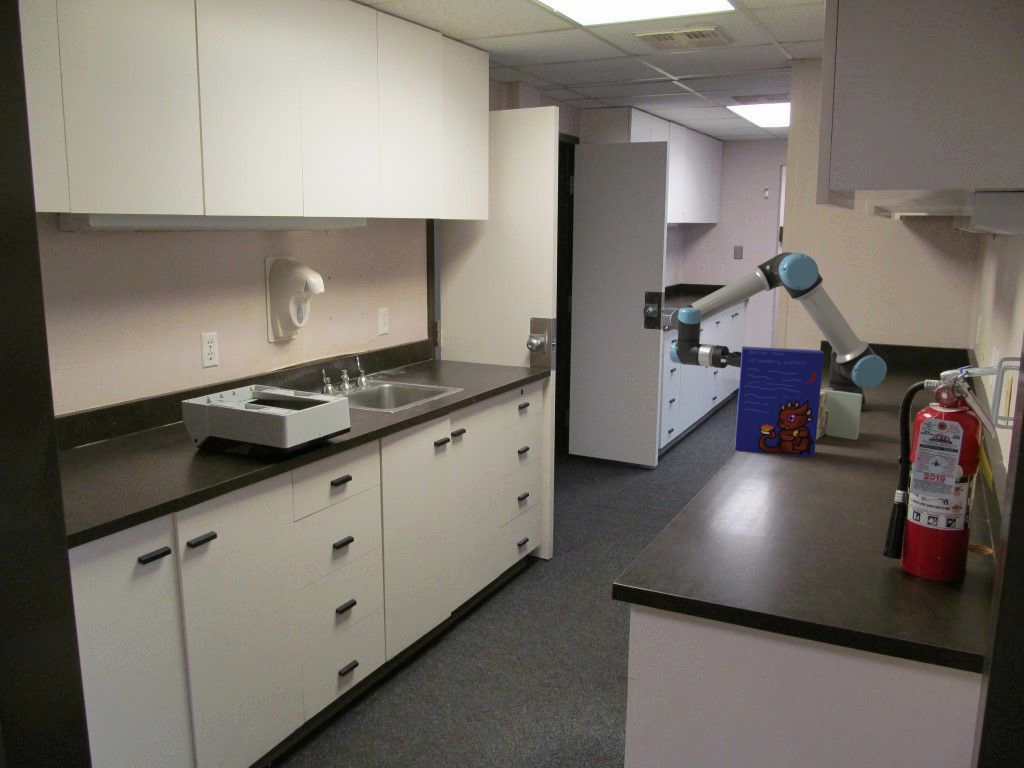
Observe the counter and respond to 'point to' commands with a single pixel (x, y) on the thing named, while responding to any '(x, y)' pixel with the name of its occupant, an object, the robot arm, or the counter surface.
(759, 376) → the cereal box
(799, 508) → the counter surface
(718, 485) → the counter surface
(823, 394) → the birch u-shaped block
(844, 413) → the sage board
